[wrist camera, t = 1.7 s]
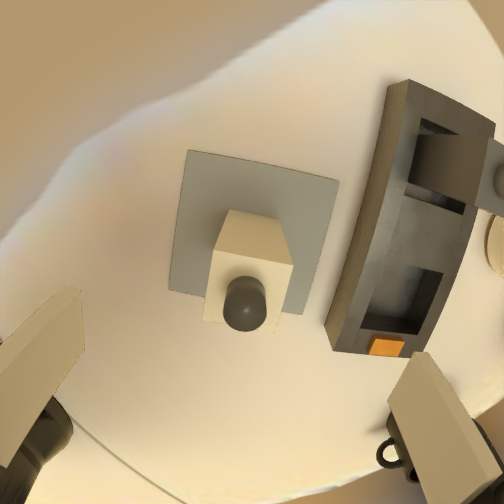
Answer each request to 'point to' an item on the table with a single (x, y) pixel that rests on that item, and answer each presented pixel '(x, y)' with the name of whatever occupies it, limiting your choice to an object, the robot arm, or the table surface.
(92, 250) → the table surface
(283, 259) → the plug
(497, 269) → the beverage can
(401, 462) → the mug
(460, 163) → the twin plug
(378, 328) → the strip
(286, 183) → the mat
